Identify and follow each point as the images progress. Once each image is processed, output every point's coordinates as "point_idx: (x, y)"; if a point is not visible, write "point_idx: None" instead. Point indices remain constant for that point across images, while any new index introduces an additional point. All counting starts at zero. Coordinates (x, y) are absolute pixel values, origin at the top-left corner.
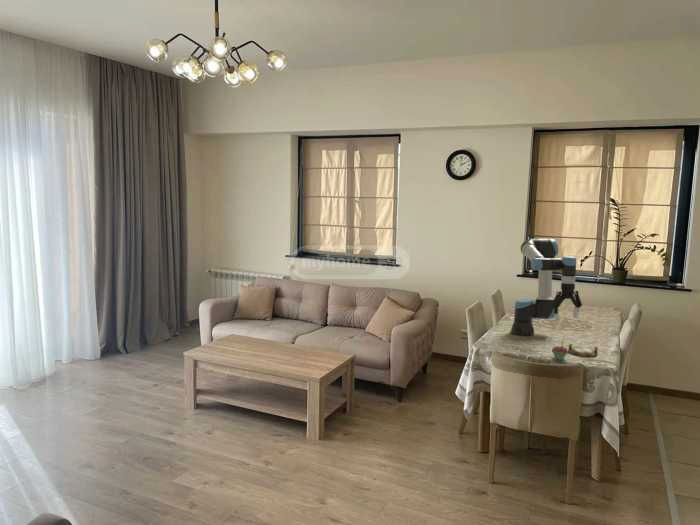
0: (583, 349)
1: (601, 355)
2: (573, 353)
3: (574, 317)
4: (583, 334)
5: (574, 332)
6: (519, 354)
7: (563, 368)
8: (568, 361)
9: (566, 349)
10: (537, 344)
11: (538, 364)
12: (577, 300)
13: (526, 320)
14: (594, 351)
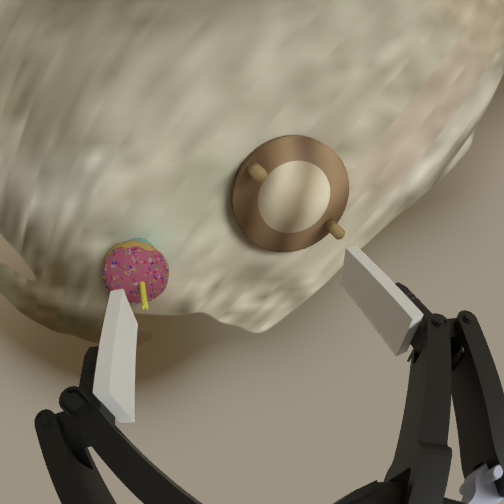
0: (310, 184)
1: None
2: (234, 212)
3: (345, 265)
4: (452, 9)
5: None
6: (6, 190)
7: None
8: None
9: (158, 292)
10: (163, 25)
11: (45, 301)
12: (462, 391)
13: None
14: (326, 224)
